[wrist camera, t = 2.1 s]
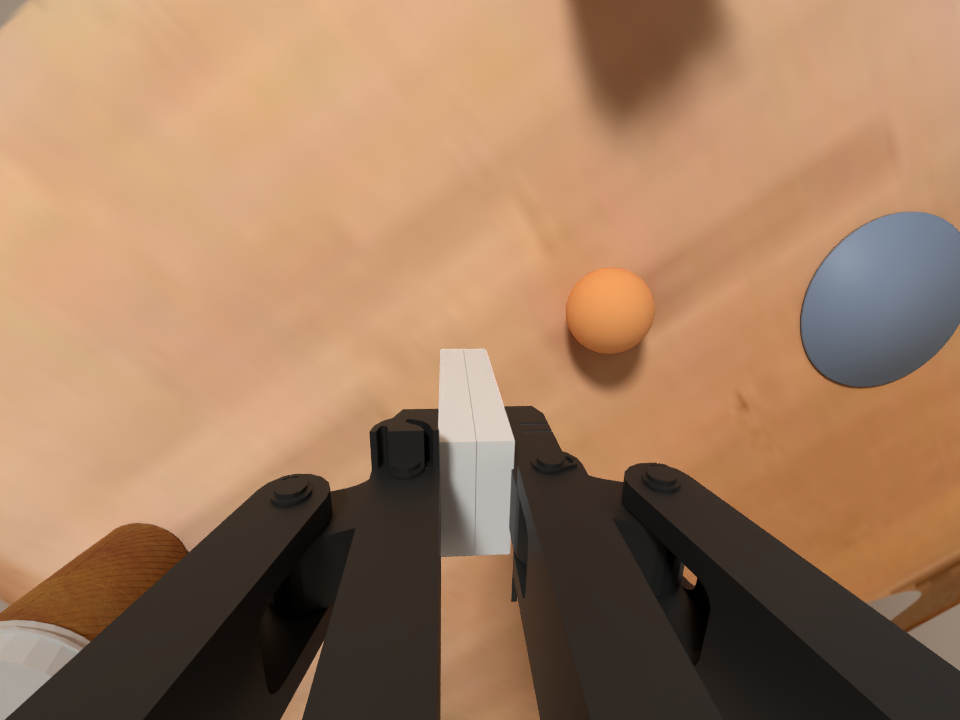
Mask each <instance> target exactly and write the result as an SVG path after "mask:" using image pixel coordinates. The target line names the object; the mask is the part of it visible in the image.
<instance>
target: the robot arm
mask: <svg viewBox="0 0 960 720" xmlns="http://www.w3.org/2000/svg"><path fill="white" fill-rule="evenodd" d="M370 446H371V462H372V472H371V475H370V479H369V480H367V481H366V482H363V483H361V484H359V485H356V486H353V487H349V488H346V489H341V490H336V491H332V492H330V486H329V482H328V481H326V480H325V479H324V478H322V477H320V476H316V475H312V474H292V475H291V476H290V475H287V476H283V477H281V478H279V479H276V480H274V481H271V482H269V483H267V484H266V485H264V486H263V487H262V488H260V489H259V490H257V491H256V492H255V493H254V494H253V495H252V496H251V497H250V498H248V499H247V500H246V501H245V502H244V503H243V504H242V505H241V506H240V507H239V508H237V509H236V510H235V511H234V512H233V513H232V514H231V515H230V516H229V517H228V518H226V519H225V520H224V521H223V522H222V523H221V524H220V525H219V526H218V527H216V528H215V529H214V530H213V531H212V532H211V533H210V534H209V535H208V536H207V537H205V538H204V539H203V540H202V541H201V542H200V543H199V544H198V545H197V546H196V547H194V548H193V549H192V550H191V551H190V552H189V553H188V554H187V555H186V556H185V557H183V558H182V559H181V560H180V561H179V562H178V563H177V564H176V565H175V566H173V567H172V568H171V569H170V570H169V571H168V572H167V573H166V574H165V575H164V576H162V577H161V578H160V579H159V580H158V581H157V582H156V583H155V584H154V585H153V586H151V587H150V588H149V589H148V590H147V591H146V592H145V593H144V594H143V595H142V596H140V597H139V598H138V599H137V600H136V601H135V602H134V603H133V604H132V605H130V606H129V607H128V608H127V609H126V610H125V611H124V612H123V613H122V614H121V615H119V616H118V617H117V618H116V619H115V620H114V621H113V622H112V623H111V624H110V625H108V626H107V627H106V628H105V629H104V630H103V631H102V632H101V633H100V634H99V635H97V636H96V637H95V638H94V639H93V640H92V641H91V642H90V643H89V644H87V645H86V646H85V647H84V648H83V649H82V650H81V651H80V652H79V653H78V654H76V655H75V656H74V657H73V658H72V659H71V660H70V661H69V662H68V663H67V664H65V665H64V666H63V667H62V668H61V669H60V670H59V671H58V672H57V673H56V674H54V675H53V676H52V677H51V678H50V679H49V680H48V681H47V682H46V683H44V684H43V685H42V686H41V687H40V688H39V689H38V690H37V691H36V692H35V693H33V694H32V695H31V696H30V697H29V698H28V699H27V700H26V701H25V702H24V703H22V704H21V705H20V706H19V707H18V708H17V709H16V710H15V711H14V712H13V713H11V714H10V715H9V716H8V717H7V718H6V719H5V720H280V719H281V717H282V715H283V714H284V712H285V710H286V708H287V706H288V705H289V703H290V701H291V699H292V697H293V695H294V694H295V692H296V690H297V688H298V686H299V685H300V683H301V681H302V679H303V677H304V676H305V674H306V672H307V670H308V668H309V666H310V665H311V663H312V661H313V659H314V657H315V656H316V654H317V652H318V650H319V648H320V647H321V645H322V643H323V641H324V643H323V647H322V650H321V654H320V658H319V661H318V665H317V668H316V672H315V675H314V679H313V683H312V686H311V690H310V693H309V697H308V701H307V704H306V708H305V711H304V715H303V718H302V720H440V677H441V557H451V556H475V555H499V554H510V541H511V540H512V544H513V549H514V556H513V577H512V599H511V602H514V601H517V597H518V603H519V608H520V613H521V619H522V624H523V629H524V635H525V640H526V645H527V651H528V656H529V661H530V667H531V672H532V677H533V683H534V688H535V693H536V699H537V704H538V709H539V715H540V720H960V671H959V670H958V669H956V668H955V667H953V666H952V665H951V664H949V663H948V662H946V661H945V660H944V659H942V658H941V657H940V656H938V655H937V654H935V653H934V652H933V651H931V650H930V649H928V648H927V647H926V646H924V645H923V644H921V643H920V642H919V641H917V640H916V639H915V638H913V637H912V636H910V635H909V634H908V633H906V632H905V631H904V630H902V629H901V628H899V627H898V626H897V625H895V624H894V623H892V622H891V621H890V620H888V619H887V618H886V617H884V616H883V615H881V614H880V613H878V612H877V611H876V610H874V609H873V608H872V607H870V606H869V605H867V604H866V603H865V602H863V601H862V600H861V599H859V598H858V597H856V596H855V595H854V594H852V593H851V592H849V591H848V590H847V589H845V588H844V587H843V586H841V585H840V584H838V583H837V582H836V581H834V580H833V579H831V578H830V577H829V576H827V575H826V574H825V573H823V572H822V571H820V570H819V569H818V568H816V567H815V566H813V565H812V564H811V563H809V562H808V561H806V560H805V559H804V558H802V557H801V556H800V555H798V554H797V553H795V552H794V551H793V550H791V549H790V548H788V547H787V546H786V545H784V544H783V543H782V542H780V541H779V540H777V539H776V538H775V537H773V536H772V535H770V534H769V533H768V532H766V531H765V530H763V529H762V528H761V527H759V526H758V525H757V524H755V523H754V522H752V521H751V520H750V519H748V518H747V517H745V516H744V515H743V514H741V513H740V512H739V511H737V510H736V509H734V508H733V507H732V506H730V505H729V504H727V503H726V502H725V501H723V500H722V499H721V498H719V497H718V496H716V495H715V494H714V493H712V492H711V491H709V490H708V489H707V488H705V487H704V486H702V485H701V484H700V483H698V482H697V481H696V480H694V479H693V478H691V477H690V476H689V475H687V474H685V473H683V472H681V471H680V470H678V469H675V468H672V467H669V466H667V465H665V464H660V463H658V464H657V463H640V464H636V465H633V466H630V467H629V468H628V469H627V470H626V471H625V475H624V482H619V481H612V480H606V479H601V478H596V477H592V476H589V475H588V474H587V472H586V470H585V468H584V466H583V465H582V463H581V462H580V461H579V460H578V459H577V458H576V457H574V456H572V455H570V454H569V453H566V452H563V451H562V450H561V448H560V446H559V444H558V442H557V440H556V438H555V436H554V434H553V432H551V428H550V426H549V424H548V422H547V420H546V418H545V416H544V414H543V413H541V412H540V411H538V410H537V409H535V408H534V407H533V406H505V407H504V405H503V402H502V398H501V395H500V392H499V389H498V386H497V383H496V379H495V376H494V373H493V370H492V367H491V364H490V360H489V357H488V354H487V351H486V349H440V380H439V409H403V410H402V411H401V412H399V413H398V414H397V415H396V416H395V417H394V418H392V419H388V420H385V421H382V422H380V423H378V424H377V425H375V426H374V427H373V428H372V429H371V431H370ZM684 565H685V566H686V567H687V568H688V569H689V570H690V571H691V572H692V573H693V574H694V575H695V576H696V577H697V582H696V585H695V586H694V585H692V584H691V583H690V582H689V581H688V580H687V579H686V578H685V577H684V576H683V570H684ZM324 639H325V640H324Z"/></svg>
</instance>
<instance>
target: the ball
mask: <svg viewBox="0 0 960 720" xmlns="http://www.w3.org/2000/svg"><path fill="white" fill-rule="evenodd" d="M654 314H655V304H654V299H653V296H652V293H651V291H650V289H649V287H648V286H647V285H646V283H645V282H644V281H643V280H642V279H641V278H640V277H638V276H637V275H635V274H634V273H632V272H630V271H627V270H625V269H620V268H603V269H599V270H596V271H593V272H591V273H589V274H588V275H586V276H584V277H583V278H582V279H581V280H580V281H579V282H578V283H577V284H576V285H575V286H574V288H573V289H572V291H571V293H570V295H569V298H568V301H567V305H566V319H567V323H568V326H569V329H570V331H571V333H572V334H573V336H574V337H575V338H576V339H577V341H579V342H580V343H581V344H582V345H583V346H585V347H586V348H588V349H590V350H593V351H595V352H599V353H607V354H611V353H619V352H623V351H626V350H628V349H630V348H632V347H633V346H635V345H637V344H638V343H639V342H640V341H641V340H642V339H643V338H644V337H645V336H646V335H647V333H648V331H649V330H650V328H651V326H652V323H653V319H654Z"/></svg>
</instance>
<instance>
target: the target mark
mask: <svg viewBox="0 0 960 720" xmlns="http://www.w3.org/2000/svg"><path fill="white" fill-rule="evenodd" d="M959 323H960V232H959V231H958V230H957V229H956V228H955V227H954V226H953V225H952V224H950V223H949V222H947V221H946V220H944V219H942V218H940V217H938V216H935V215H932V214H928V213H921V212H900V213H895V214H890V215H886V216H883V217H880V218H877V219H875V220H873V221H871V222H869V223H866V224H864V225H863V226H861V227H860V228H858V229H856V230H855V231H853V232H852V233H851V234H849V235H848V236H847V237H845V238H844V239H843V240H842V241H841V242H840V243H839V244H838V245H837V246H836V247H834V248H833V250H832V251H831V252H830V253H829V254H828V255H827V257H826V258H825V259H824V260H823V262H822V263H821V265H820V266H819V268H818V269H817V271H816V272H815V274H814V276H813V278H812V280H811V282H810V284H809V286H808V289H807V291H806V294H805V298H804V301H803V305H802V310H801V319H800V330H801V338H802V342H803V347H804V349H805V351H806V354H807V356H808V358H809V359H810V361H811V362H812V364H813V365H814V366H815V367H816V368H817V370H818V371H820V372H821V373H822V374H823V375H825V376H826V377H828V378H830V379H832V380H833V381H836V382H839V383H841V384H844V385H849V386H855V387H870V386H877V385H882V384H886V383H889V382H892V381H895V380H898V379H900V378H902V377H904V376H906V375H908V374H910V373H912V372H913V371H915V370H917V369H918V368H919V367H921V366H922V365H924V364H925V363H926V362H927V361H929V360H930V359H931V358H932V357H933V356H934V355H935V354H936V353H937V352H938V351H939V350H940V349H941V348H942V347H943V346H944V345H945V344H946V342H947V341H948V340H949V339H950V337H951V336H952V335H953V333H954V332H955V330H956V328H957V327H958V325H959Z"/></svg>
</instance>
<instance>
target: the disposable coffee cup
mask: <svg viewBox="0 0 960 720" xmlns="http://www.w3.org/2000/svg"><path fill="white" fill-rule="evenodd" d="M186 555H187V553H186V550H185V548H184V546H183V545H182V543H181V542H180V541H179V540H178V539H177V538H176V537H175V536H174V535H173V534H171V533H170V532H168V531H166V530H164V529H162V528H160V527H157V526H154V525H150V524H141V523H134V524H128V525H124V526H121V527H119V528H116V529H115V530H113V531H112V532H111V533H109V534H108V535H107V536H105V537H104V538H103V539H101V540H100V541H98V542H97V543H95V544H94V545H93V546H91V547H90V548H89V549H87V550H86V551H84V552H83V553H82V554H80V555H79V556H78V557H76V558H75V559H74V560H72V561H71V562H69V563H68V564H67V565H65V566H64V567H63V568H61V569H60V570H58V571H57V572H56V573H54V574H53V575H52V576H50V577H49V578H48V579H46V580H45V581H44V582H42V583H41V584H39V585H38V586H37V587H35V588H34V589H32V590H31V591H30V592H28V593H27V594H26V595H24V596H23V597H21V598H20V599H19V600H18V601H16V602H15V603H13V604H12V605H11V606H9V607H8V608H7V609H5V610H4V611H3V612H1V613H0V720H5V719H6V718H7V717H8V716H9V715H10V714H11V713H13V712H14V711H15V710H16V709H17V708H18V707H19V706H20V705H21V704H22V703H24V702H25V701H26V700H27V699H28V698H29V697H30V696H31V695H32V694H33V693H35V692H36V691H37V690H38V689H39V688H40V687H41V686H42V685H43V684H44V683H46V682H47V681H48V680H49V679H50V678H51V677H52V676H53V675H54V674H56V673H57V672H58V671H59V670H60V669H61V668H62V667H63V666H64V665H65V664H67V663H68V662H69V661H70V660H71V659H72V658H73V657H74V656H75V655H76V654H78V653H79V652H80V651H81V650H82V649H83V648H84V647H85V646H86V645H87V644H89V643H90V642H91V641H92V640H93V639H94V638H95V637H96V636H97V635H99V634H100V633H101V632H102V631H103V630H104V629H105V628H106V627H107V626H108V625H110V624H111V623H112V622H113V621H114V620H115V619H116V618H117V617H118V616H119V615H121V614H122V613H123V612H124V611H125V610H126V609H127V608H128V607H129V606H130V605H132V604H133V603H134V602H135V601H136V600H137V599H138V598H139V597H140V596H142V595H143V594H144V593H145V592H146V591H147V590H148V589H149V588H150V587H151V586H153V585H154V584H155V583H156V582H157V581H158V580H159V579H160V578H161V577H162V576H164V575H165V574H166V573H167V572H168V571H169V570H170V569H171V568H172V567H173V566H175V565H176V564H177V563H178V562H179V561H180V560H181V559H182V558H183V557H185V556H186Z"/></svg>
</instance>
